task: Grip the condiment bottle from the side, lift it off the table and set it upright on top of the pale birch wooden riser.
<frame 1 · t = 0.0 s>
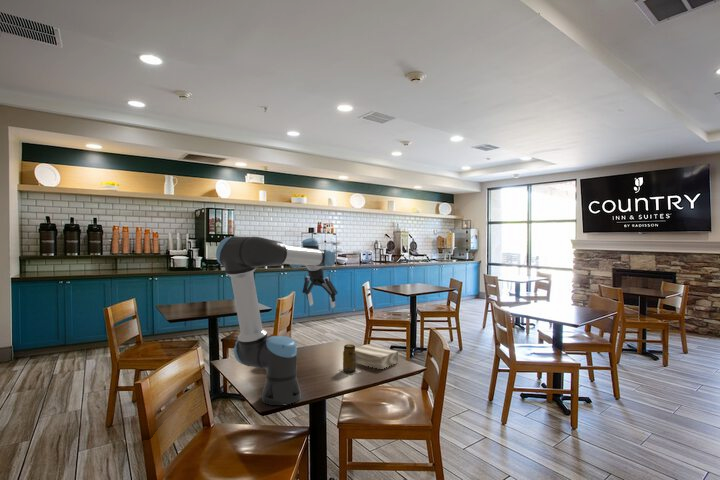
hand: (322, 305, 201), 28 cm above the table, tool tilted 20°, fingers open, 13 cm apart
condiment: (350, 371, 183), on the table
riser: (374, 362, 196), on the table
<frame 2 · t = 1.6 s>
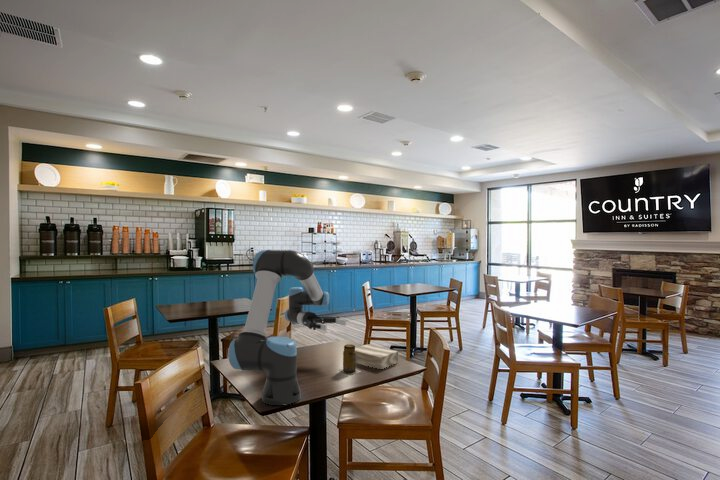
hand: (336, 325, 189), 20 cm above the table, tool horizontal, fingers open, 13 cm apart
nothing on the table moved.
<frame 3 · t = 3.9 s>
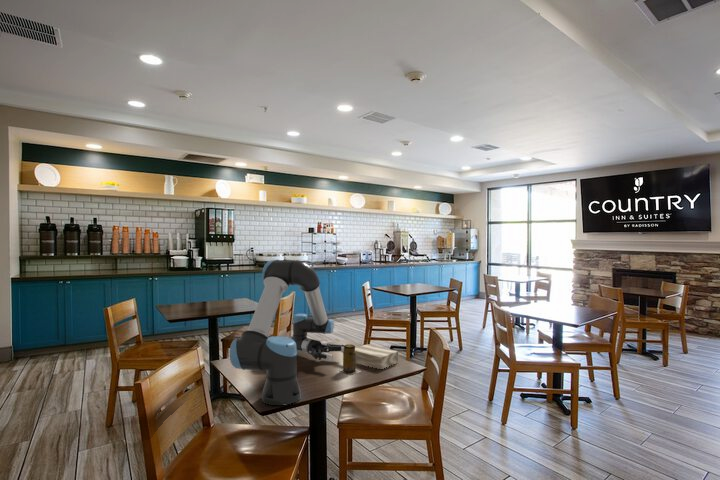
hand: (341, 354, 187), 6 cm above the table, tool horizontal, fingers open, 13 cm apart
nothing on the table moved.
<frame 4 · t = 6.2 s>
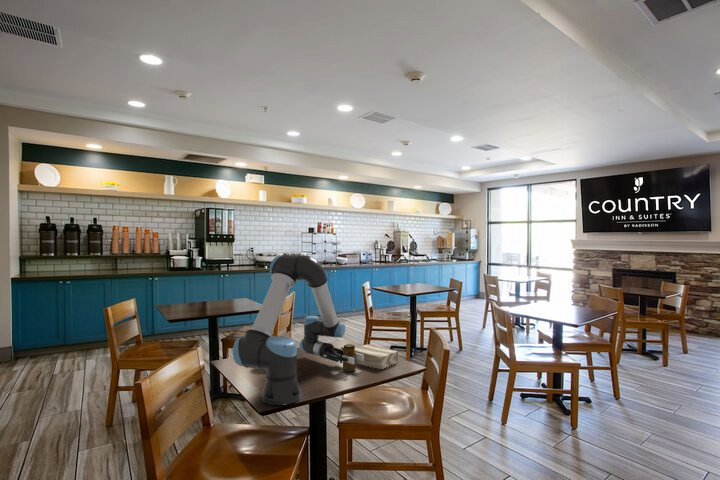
hand: (358, 359, 180), 7 cm above the table, tool horizontal, fingers closed on condiment, 6 cm apart
condiment: (350, 371, 183), on the table, touching gripper
everything else where it was.
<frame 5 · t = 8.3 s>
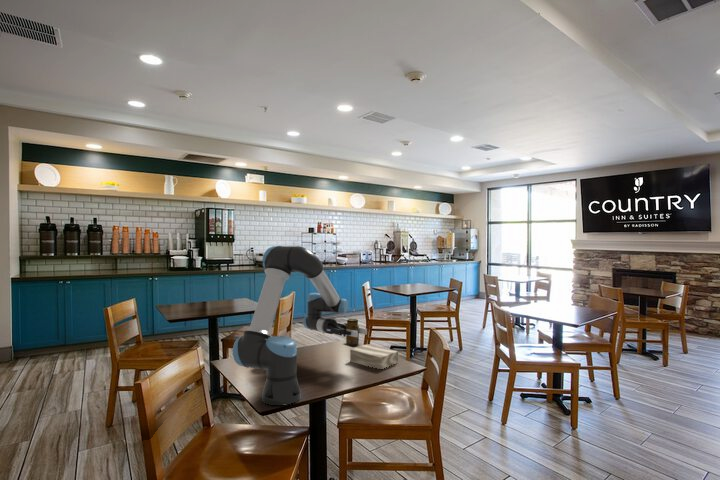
hand: (361, 333, 182), 18 cm above the table, tool horizontal, fingers closed on condiment, 6 cm apart
condiment: (353, 345, 185), point 12 cm above the table, touching gripper
everything else where it was.
when the fingers open (14 cm above the table, at t = 10.4 s): condiment drops 1 cm, resting on riser.
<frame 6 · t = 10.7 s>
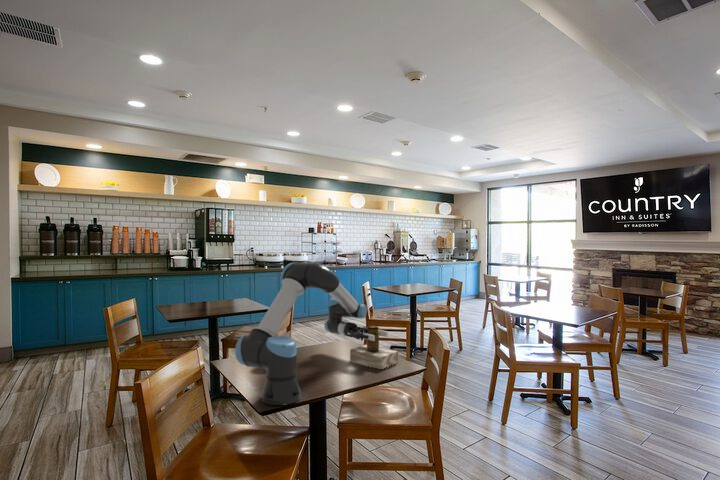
hand: (380, 336, 193), 14 cm above the table, tool horizontal, fingers open, 10 cm apart
condiment: (373, 350, 196), point 6 cm above the table, touching riser
everything else where it was.
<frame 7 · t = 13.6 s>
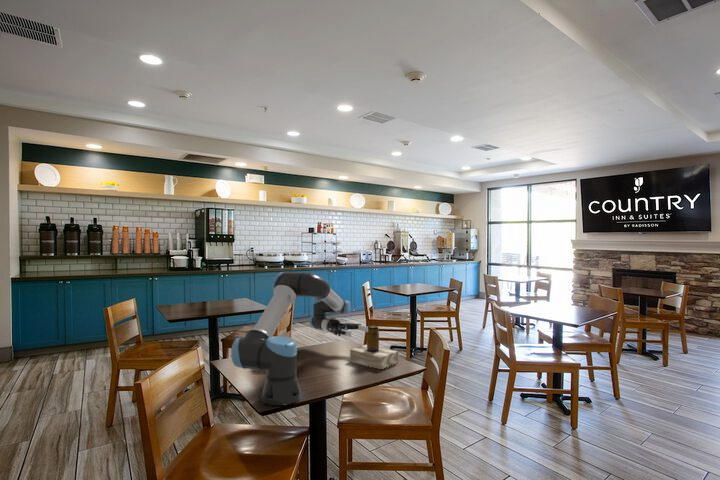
hand: (359, 331, 202), 14 cm above the table, tool horizontal, fingers open, 13 cm apart
nothing on the table moved.
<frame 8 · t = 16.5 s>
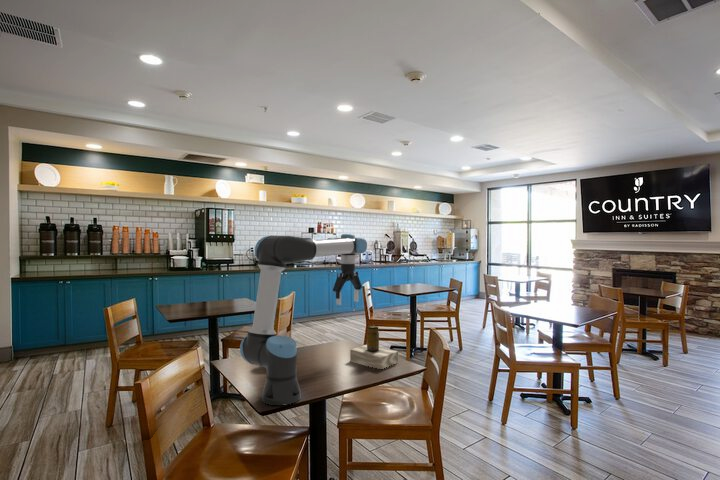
hand: (347, 303, 204), 29 cm above the table, tool pointing down, fingers open, 13 cm apart
nothing on the table moved.
at the end: condiment inside the target area on the riser (0.1 cm from its centre), point 5.8 cm above the riser's base; condiment tilted 0°; the gripper is holding nothing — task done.
